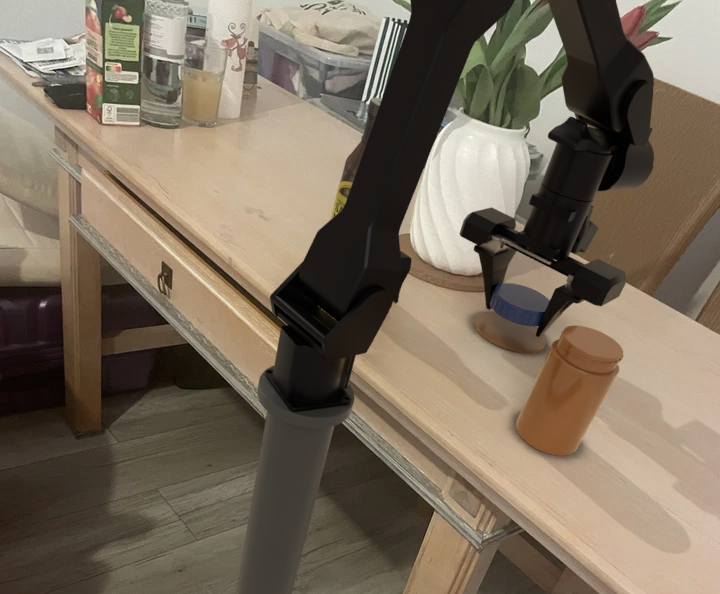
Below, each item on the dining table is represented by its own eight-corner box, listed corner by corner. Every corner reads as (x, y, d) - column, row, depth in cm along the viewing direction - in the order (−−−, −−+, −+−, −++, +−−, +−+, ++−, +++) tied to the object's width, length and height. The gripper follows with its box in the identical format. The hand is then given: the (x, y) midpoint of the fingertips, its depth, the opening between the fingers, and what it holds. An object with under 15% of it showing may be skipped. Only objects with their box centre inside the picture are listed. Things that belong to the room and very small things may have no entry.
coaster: (504, 356, 79) (505, 353, 79) (459, 316, 84) (460, 313, 84) (559, 350, 84) (560, 347, 83) (513, 312, 89) (514, 309, 89)
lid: (520, 296, 86) (526, 281, 85) (558, 325, 82) (564, 310, 81) (477, 298, 83) (483, 283, 81) (514, 328, 78) (520, 313, 77)
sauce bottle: (311, 278, 83) (347, 97, 71) (326, 260, 88) (361, 88, 75) (363, 295, 83) (408, 116, 70) (375, 276, 88) (418, 106, 75)
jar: (544, 460, 65) (593, 364, 58) (502, 420, 69) (544, 325, 62) (590, 450, 68) (642, 357, 61) (548, 411, 72) (592, 320, 65)
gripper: (673, 216, 75) (608, 342, 85) (528, 153, 82) (484, 275, 92) (636, 231, 68) (570, 367, 78) (480, 160, 75) (438, 292, 85)
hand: (513, 322), depth 83 cm, fingers closed on lid, 7 cm apart
